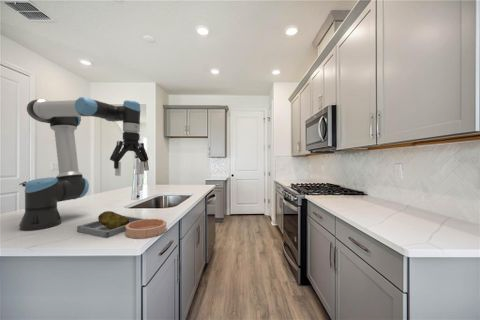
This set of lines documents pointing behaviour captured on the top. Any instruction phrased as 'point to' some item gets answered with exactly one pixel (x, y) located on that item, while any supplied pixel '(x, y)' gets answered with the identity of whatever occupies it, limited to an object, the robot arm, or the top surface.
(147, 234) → the bowl
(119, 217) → the pear
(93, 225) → the tray
